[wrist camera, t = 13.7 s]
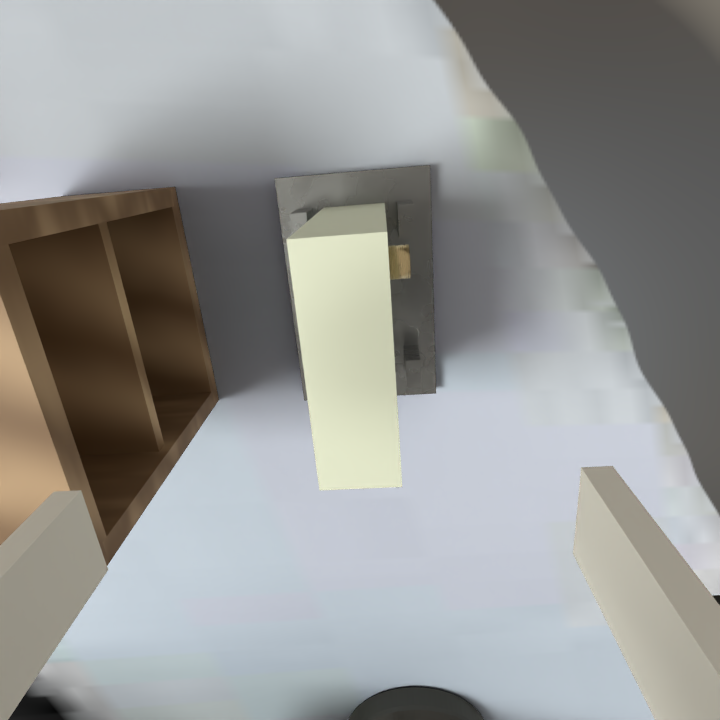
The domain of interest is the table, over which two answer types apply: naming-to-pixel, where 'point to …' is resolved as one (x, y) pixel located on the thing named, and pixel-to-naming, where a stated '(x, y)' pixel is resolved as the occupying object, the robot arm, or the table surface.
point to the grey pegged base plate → (404, 226)
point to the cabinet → (97, 354)
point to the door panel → (349, 343)
